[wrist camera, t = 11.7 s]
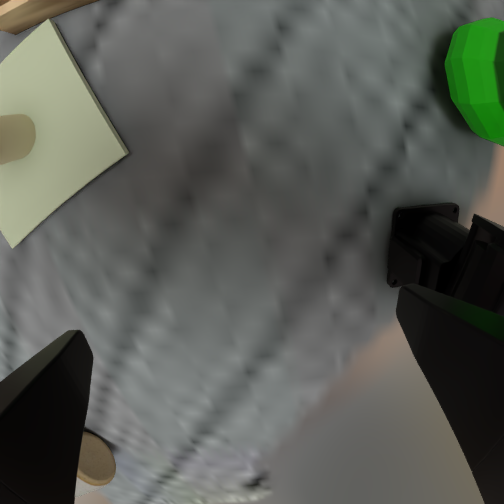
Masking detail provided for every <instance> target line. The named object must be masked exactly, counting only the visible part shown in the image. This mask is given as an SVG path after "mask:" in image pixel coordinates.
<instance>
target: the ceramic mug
mask: <svg viewBox="0 0 504 504" xmlns="http://www.w3.org/2000/svg"><path fill="white" fill-rule="evenodd" d="M115 471H116V464H115V460H114V456H113V454H112V452H111V451H110V449H109V448H108V446H107V445H106V444H105V443H104V442H103V441H102V440H101V439H100V438H98V437H97V436H95V435H93V434H91V433H88V432H83V438H82V444H81V450H80V457H79V465H78V472H77V481H76V490H75V497H79V496H82V495H84V494H87V493H90V492H92V491H95V490H97V489H100V488H102V487H104V486H106V485H107V484H108V483H109V482H110V481H111V480H112V479H113V477H114V475H115Z"/></svg>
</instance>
